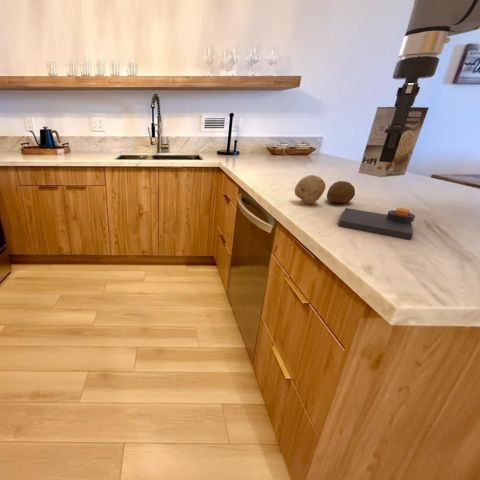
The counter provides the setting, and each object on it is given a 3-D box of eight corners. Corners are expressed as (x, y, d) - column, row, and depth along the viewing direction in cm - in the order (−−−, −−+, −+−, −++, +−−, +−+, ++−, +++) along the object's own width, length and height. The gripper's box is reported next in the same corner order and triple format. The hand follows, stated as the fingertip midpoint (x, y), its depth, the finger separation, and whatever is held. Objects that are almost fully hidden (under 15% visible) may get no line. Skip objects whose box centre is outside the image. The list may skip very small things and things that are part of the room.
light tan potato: (296, 207, 97) (302, 177, 93) (289, 199, 105) (294, 172, 101) (324, 208, 96) (332, 178, 92) (315, 200, 104) (321, 173, 100)
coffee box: (381, 178, 71) (404, 106, 64) (357, 173, 76) (376, 106, 70) (405, 175, 74) (429, 106, 67) (380, 170, 79) (400, 107, 73)
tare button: (407, 214, 81) (409, 209, 80) (408, 217, 79) (410, 212, 78) (394, 212, 82) (396, 207, 82) (394, 215, 80) (396, 209, 80)
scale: (410, 224, 82) (414, 212, 81) (412, 241, 72) (417, 228, 70) (344, 213, 91) (347, 202, 90) (337, 226, 81) (341, 214, 79)
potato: (355, 201, 103) (361, 179, 100) (348, 209, 95) (354, 186, 91) (330, 197, 108) (335, 176, 105) (321, 204, 99) (326, 182, 96)
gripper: (448, 48, 54) (406, 167, 63) (435, 62, 71) (403, 155, 80) (398, 52, 58) (365, 163, 67) (397, 65, 75) (371, 152, 84)
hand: (386, 159), depth 73 cm, fingers closed on coffee box, 10 cm apart
